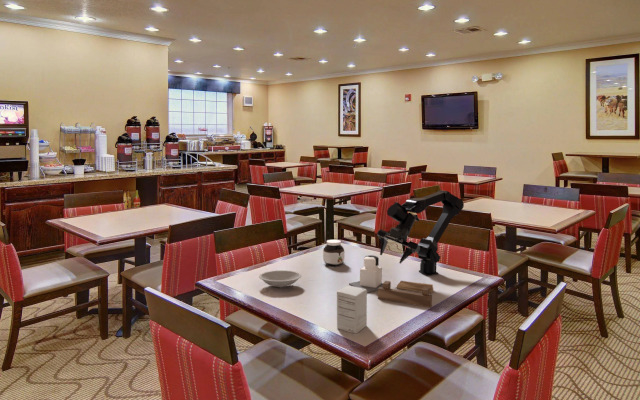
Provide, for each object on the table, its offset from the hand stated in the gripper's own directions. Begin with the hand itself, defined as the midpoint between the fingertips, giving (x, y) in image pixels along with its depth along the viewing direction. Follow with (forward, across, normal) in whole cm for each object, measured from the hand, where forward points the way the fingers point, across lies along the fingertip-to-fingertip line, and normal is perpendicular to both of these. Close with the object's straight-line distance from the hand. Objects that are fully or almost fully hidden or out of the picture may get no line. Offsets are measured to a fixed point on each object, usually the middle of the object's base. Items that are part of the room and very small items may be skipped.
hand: (390, 259), depth 183 cm
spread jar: (+11, -32, +18) cm, 38 cm away
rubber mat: (+14, -2, -4) cm, 15 cm away
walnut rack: (+14, +16, -12) cm, 25 cm away
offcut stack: (+7, +15, 0) cm, 16 cm away
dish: (+31, -31, -19) cm, 48 cm away
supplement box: (+29, +11, -39) cm, 50 cm away
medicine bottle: (+13, -2, -3) cm, 14 cm away
